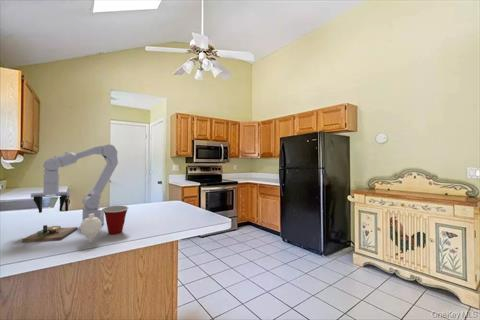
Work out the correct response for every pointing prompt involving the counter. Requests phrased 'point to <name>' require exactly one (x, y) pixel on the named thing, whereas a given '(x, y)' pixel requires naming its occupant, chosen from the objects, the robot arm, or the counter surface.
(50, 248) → the counter surface
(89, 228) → the cream vase
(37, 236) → the dial board
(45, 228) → the dial
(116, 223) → the plastic cup
